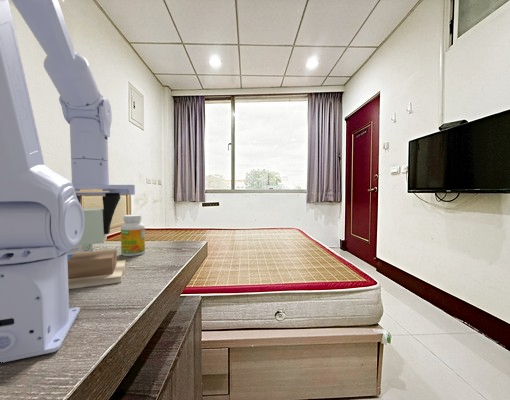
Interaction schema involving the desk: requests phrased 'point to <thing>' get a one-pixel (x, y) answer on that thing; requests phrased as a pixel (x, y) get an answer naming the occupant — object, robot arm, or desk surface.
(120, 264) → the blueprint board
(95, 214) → the sage pillar
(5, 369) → the desk surface
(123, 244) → the supplement bottle
